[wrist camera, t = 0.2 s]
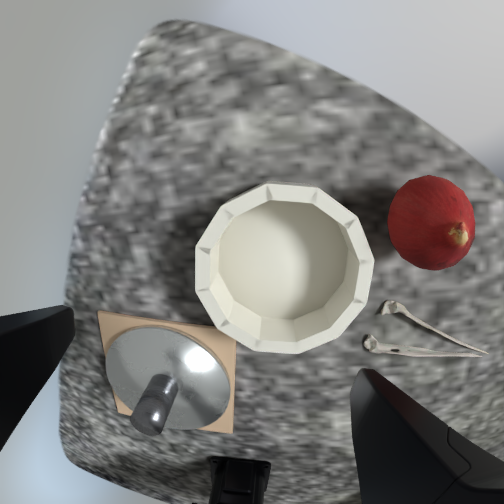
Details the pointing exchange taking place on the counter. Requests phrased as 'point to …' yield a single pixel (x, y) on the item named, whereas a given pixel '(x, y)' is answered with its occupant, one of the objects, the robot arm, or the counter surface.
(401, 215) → the onion
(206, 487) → the counter surface
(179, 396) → the lid
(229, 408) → the mat
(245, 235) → the bowl
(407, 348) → the tweezers
